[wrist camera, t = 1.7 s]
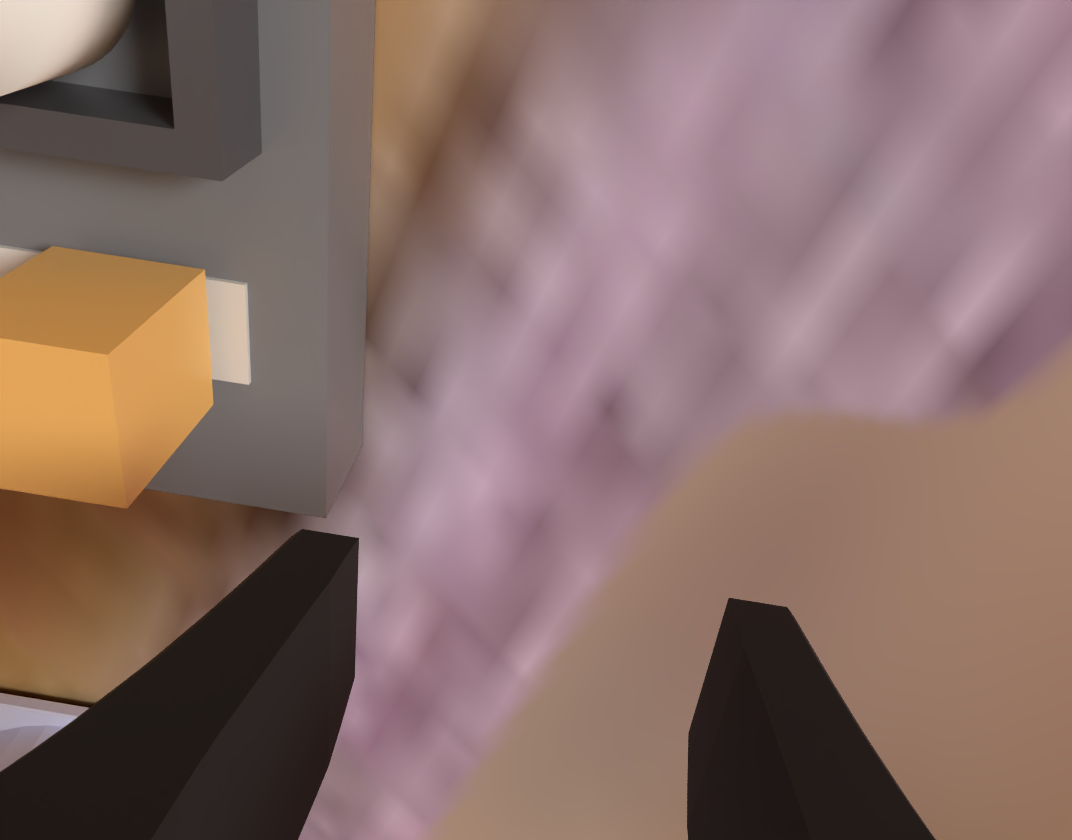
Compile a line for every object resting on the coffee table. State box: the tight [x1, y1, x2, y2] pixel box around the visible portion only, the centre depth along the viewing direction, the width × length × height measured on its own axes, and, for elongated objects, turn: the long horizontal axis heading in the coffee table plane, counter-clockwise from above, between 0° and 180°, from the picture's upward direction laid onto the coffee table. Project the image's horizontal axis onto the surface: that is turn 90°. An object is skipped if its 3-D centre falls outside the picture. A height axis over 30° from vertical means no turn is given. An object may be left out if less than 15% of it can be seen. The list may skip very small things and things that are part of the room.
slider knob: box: [0, 246, 213, 509], centre depth 14 cm, size 2×2×3 cm
